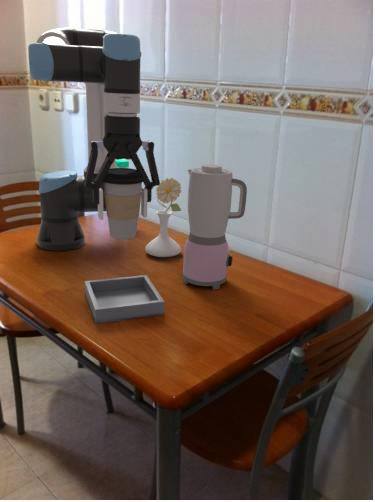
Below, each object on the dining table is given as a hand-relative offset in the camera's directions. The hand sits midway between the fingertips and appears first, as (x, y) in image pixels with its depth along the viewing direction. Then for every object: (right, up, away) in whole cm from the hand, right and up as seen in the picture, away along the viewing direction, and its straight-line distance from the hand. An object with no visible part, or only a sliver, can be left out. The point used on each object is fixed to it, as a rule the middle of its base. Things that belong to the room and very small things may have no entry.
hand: (122, 216), depth 105 cm
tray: (-1, -21, +8) cm, 22 cm away
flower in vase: (+8, -9, +41) cm, 42 cm away
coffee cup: (0, -4, +2) cm, 5 cm away
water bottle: (-9, 0, +65) cm, 65 cm away
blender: (+21, -17, +23) cm, 35 cm away
